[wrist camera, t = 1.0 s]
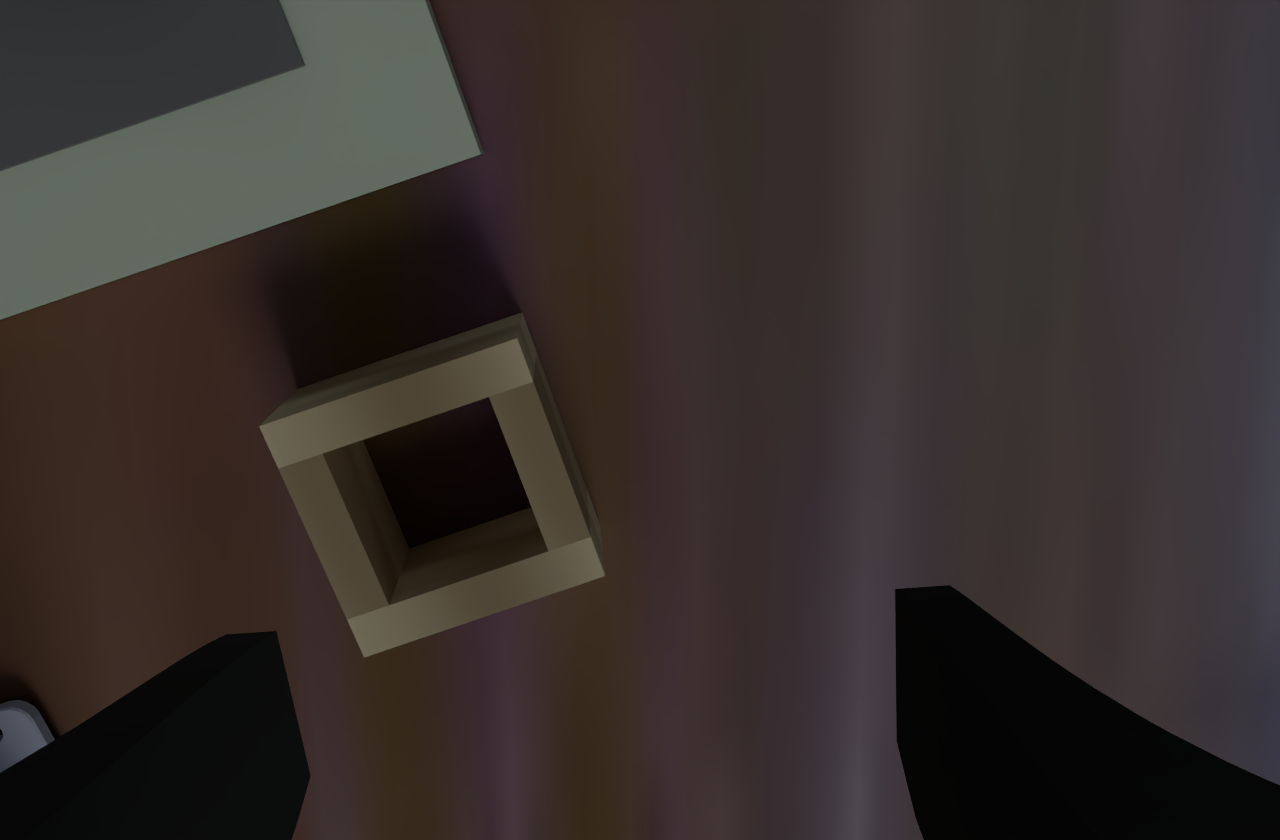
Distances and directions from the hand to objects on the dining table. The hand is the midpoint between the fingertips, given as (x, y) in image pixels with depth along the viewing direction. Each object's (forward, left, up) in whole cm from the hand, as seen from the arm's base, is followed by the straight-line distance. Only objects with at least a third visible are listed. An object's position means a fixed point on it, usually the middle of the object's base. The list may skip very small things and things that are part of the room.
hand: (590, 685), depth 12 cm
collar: (-3, 0, -12) cm, 12 cm away
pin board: (-6, +12, -12) cm, 18 cm away
